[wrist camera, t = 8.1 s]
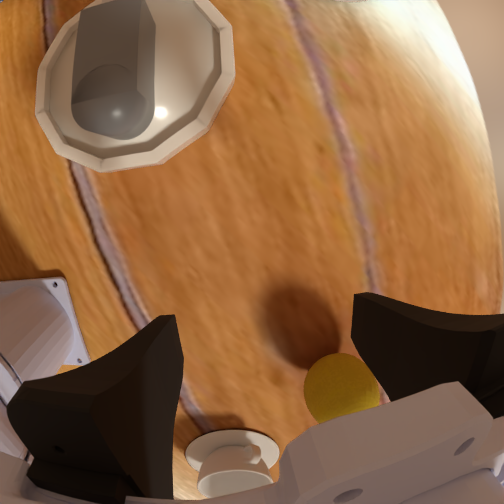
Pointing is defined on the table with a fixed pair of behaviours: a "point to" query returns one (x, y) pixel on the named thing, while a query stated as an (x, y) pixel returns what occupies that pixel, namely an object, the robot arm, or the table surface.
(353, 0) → the lid
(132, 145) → the plate
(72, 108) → the connector
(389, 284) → the table surface
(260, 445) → the teacup
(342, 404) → the lemon
